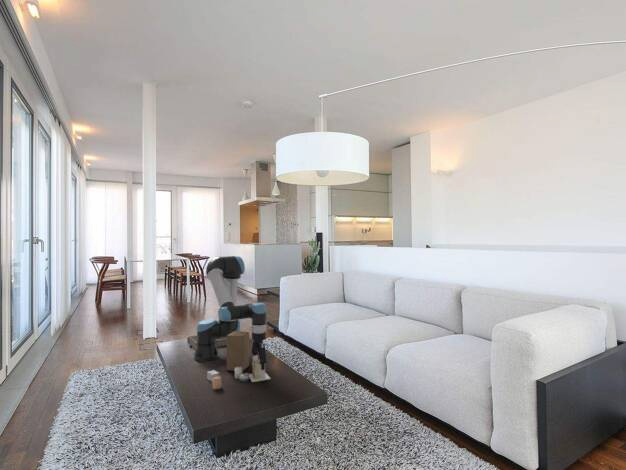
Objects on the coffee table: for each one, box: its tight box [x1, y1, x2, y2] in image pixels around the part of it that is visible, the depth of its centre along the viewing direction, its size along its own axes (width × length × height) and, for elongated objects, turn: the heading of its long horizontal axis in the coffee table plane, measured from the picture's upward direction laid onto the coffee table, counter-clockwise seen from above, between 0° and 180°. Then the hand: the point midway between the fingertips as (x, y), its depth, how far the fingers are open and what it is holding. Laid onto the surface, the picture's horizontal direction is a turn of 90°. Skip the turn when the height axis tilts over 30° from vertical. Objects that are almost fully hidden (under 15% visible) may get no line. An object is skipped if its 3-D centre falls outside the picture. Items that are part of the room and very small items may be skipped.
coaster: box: [249, 371, 271, 383], centre depth 196 cm, size 10×10×1 cm
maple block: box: [251, 359, 265, 379], centre depth 196 cm, size 6×6×8 cm
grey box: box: [206, 369, 220, 383], centre depth 193 cm, size 6×4×4 cm, turn 42°
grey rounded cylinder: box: [234, 367, 243, 380], centre depth 196 cm, size 4×4×5 cm
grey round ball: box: [238, 372, 250, 383], centre depth 192 cm, size 5×5×3 cm
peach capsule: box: [211, 375, 223, 390], centre depth 182 cm, size 4×4×5 cm
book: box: [187, 335, 227, 351], centre depth 261 cm, size 30×22×5 cm
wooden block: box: [226, 331, 250, 372], centre depth 210 cm, size 10×10×20 cm
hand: (258, 371), depth 196 cm, fingers open, 13 cm apart
